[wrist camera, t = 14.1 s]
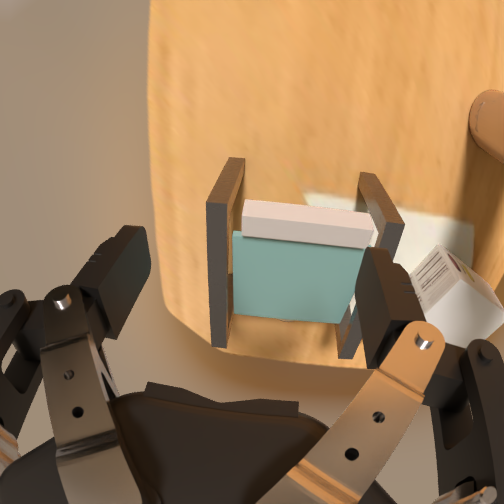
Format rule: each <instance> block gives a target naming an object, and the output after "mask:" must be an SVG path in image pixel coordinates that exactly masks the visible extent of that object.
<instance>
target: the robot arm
mask: <svg viewBox="0 0 504 504" xmlns="http://www.w3.org/2000/svg"><path fill="white" fill-rule="evenodd" d="M469 123H470V130H471V134H472V136H473V139H474V140H475V142H476V144H477V145H478V146H479V147H480V148H481V149H483V150H484V151H486V152H487V153H489V154H490V155H492V156H493V157H494V158H496V159H497V160H498V161H500V162H501V163H503V164H504V93H503V92H500V91H497V90H488V91H485V92H483V93H482V94H480V95H479V96H478V97H477V99H476V100H475V101H474V103H473V105H472V108H471V111H470V118H469ZM150 269H151V258H150V253H149V248H148V241H147V235H146V230H145V228H144V227H143V226H131V225H124V226H123V227H122V228H121V229H120V231H119V232H118V233H117V234H116V236H115V237H111V238H109V239H108V240H106V241H105V242H103V243H102V244H100V246H99V247H98V248H97V250H96V251H95V252H94V255H92V256H91V257H90V259H89V261H88V262H86V264H85V265H84V266H83V268H82V269H81V270H80V272H79V273H78V274H77V276H76V277H75V278H74V280H73V281H72V282H71V284H70V285H62V286H59V287H56V288H54V289H53V290H51V291H50V292H49V293H48V294H47V295H46V296H45V298H44V300H37V301H27V299H26V297H25V295H24V293H23V292H22V291H20V290H17V289H14V290H9V291H7V292H5V293H3V294H1V295H0V504H397V503H396V502H395V501H394V500H393V499H392V498H391V497H390V496H389V495H388V493H386V491H385V490H384V489H383V488H382V487H381V486H380V485H379V483H378V482H377V481H376V480H375V478H376V477H377V475H378V474H379V473H380V471H381V470H382V468H383V467H384V465H385V464H386V462H387V461H388V459H389V458H390V456H391V454H392V453H393V452H394V450H395V448H396V447H397V445H398V443H399V442H400V440H401V439H402V437H403V435H404V434H405V432H406V430H407V428H408V427H409V425H410V423H411V422H412V420H413V418H414V416H415V414H416V413H417V411H418V409H419V407H420V405H421V404H423V405H427V406H430V410H431V417H432V424H433V432H434V439H435V449H436V459H437V470H438V485H439V486H438V487H439V497H438V498H437V499H435V501H434V502H433V503H432V504H504V363H503V360H502V357H501V355H500V352H499V351H498V349H497V348H496V347H495V346H494V345H493V344H492V343H490V342H489V341H487V340H484V339H474V340H472V341H471V342H470V343H469V345H468V346H467V348H463V347H459V346H456V345H452V344H449V343H446V342H445V339H444V336H443V334H442V333H441V332H440V330H439V329H438V328H436V327H435V326H434V325H432V324H430V323H428V322H427V321H426V318H425V316H424V313H423V310H422V308H421V305H420V302H419V300H418V297H417V294H415V289H414V287H413V285H412V282H411V279H410V277H409V274H408V273H407V272H406V270H405V269H404V268H403V267H402V266H401V265H400V264H397V263H393V261H392V258H391V256H390V253H389V251H388V249H386V248H376V247H366V249H365V251H364V255H363V258H362V262H361V266H360V269H359V273H358V276H357V279H356V284H355V300H356V305H357V310H358V316H359V321H360V327H361V333H362V339H363V345H364V351H365V357H366V364H367V369H376V370H375V371H374V372H373V374H372V375H371V377H370V378H369V379H368V381H367V382H366V383H365V385H364V386H363V387H362V389H361V390H360V392H359V393H358V394H357V396H356V397H355V398H354V399H353V401H352V402H351V403H350V404H349V406H348V407H347V408H346V410H345V411H344V412H343V413H342V414H341V416H340V417H339V418H338V419H337V420H336V422H335V423H334V424H333V425H332V426H331V428H329V427H328V426H326V425H325V424H323V423H322V422H320V421H319V420H317V419H315V418H313V417H311V416H308V415H306V414H303V413H300V412H298V406H299V402H296V401H281V400H269V399H254V400H245V401H236V402H225V403H219V402H215V401H213V400H210V399H208V398H205V397H202V396H200V395H198V394H195V393H193V392H190V391H188V390H185V389H183V388H178V387H173V386H168V385H162V384H157V383H153V382H148V383H147V385H146V388H145V391H144V392H134V393H129V394H125V395H122V396H120V394H119V392H118V390H117V387H116V384H115V382H114V379H113V376H112V373H111V370H110V367H109V363H108V360H107V357H106V354H105V351H104V348H103V345H102V342H103V340H104V338H110V339H115V340H117V338H118V335H119V334H120V331H121V330H122V327H123V325H124V323H125V321H126V319H127V317H128V315H129V314H130V312H131V309H132V308H133V306H134V303H135V302H136V300H137V298H138V296H139V294H140V292H141V290H142V288H143V286H144V284H145V282H146V281H147V279H148V277H149V274H150ZM11 344H13V345H14V347H15V348H16V350H17V351H16V353H15V355H14V357H13V358H12V360H11V362H10V364H9V366H8V367H7V369H6V371H5V373H4V374H3V372H2V368H1V365H2V360H3V358H4V356H5V354H6V353H7V351H8V349H9V347H10V346H11ZM42 378H43V381H44V387H45V393H46V399H47V405H48V410H49V415H50V420H51V424H52V429H53V433H54V437H53V438H51V439H49V440H48V441H46V442H45V443H43V444H42V445H40V446H38V447H36V448H35V449H33V450H32V451H30V452H28V453H27V454H25V455H24V456H22V457H21V455H20V453H19V452H18V443H17V438H18V435H19V433H20V430H21V428H22V425H23V422H24V420H25V418H26V415H27V413H28V410H29V408H30V406H31V403H32V401H33V399H34V396H35V394H36V392H37V389H38V387H39V385H40V383H41V380H42ZM469 403H470V405H469ZM470 407H471V409H470ZM471 411H472V414H471ZM472 416H473V419H472Z"/></svg>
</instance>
